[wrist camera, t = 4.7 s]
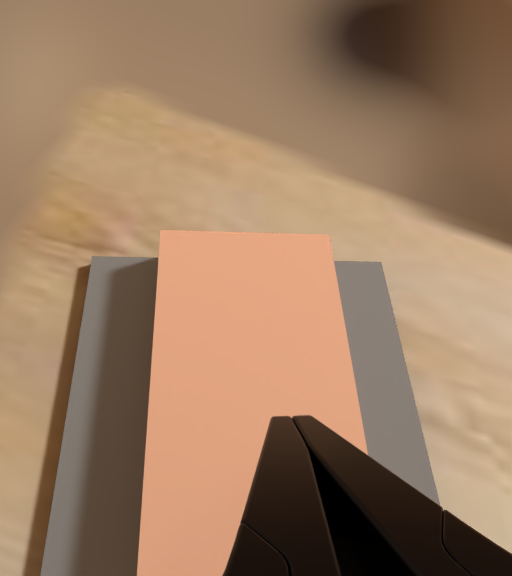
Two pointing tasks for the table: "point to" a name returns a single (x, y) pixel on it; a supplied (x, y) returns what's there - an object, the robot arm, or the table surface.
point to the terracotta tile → (234, 381)
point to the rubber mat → (135, 400)
